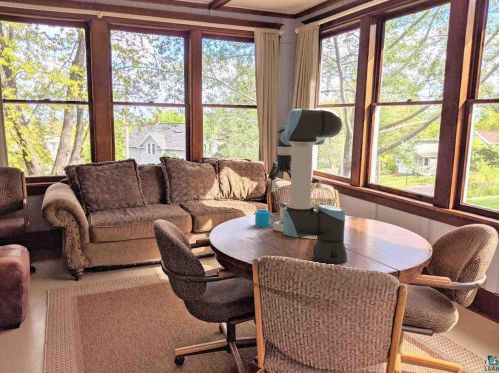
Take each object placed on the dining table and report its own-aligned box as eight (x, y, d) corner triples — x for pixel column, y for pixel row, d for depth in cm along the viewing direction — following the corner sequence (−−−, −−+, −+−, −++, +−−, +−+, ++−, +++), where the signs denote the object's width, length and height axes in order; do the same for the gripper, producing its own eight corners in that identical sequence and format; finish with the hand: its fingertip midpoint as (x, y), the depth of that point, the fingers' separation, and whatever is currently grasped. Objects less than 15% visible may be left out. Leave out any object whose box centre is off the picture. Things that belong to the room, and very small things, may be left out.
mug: (253, 226, 235) (253, 212, 233) (258, 222, 242) (258, 209, 241) (273, 228, 230) (273, 214, 229) (277, 225, 238) (277, 211, 237)
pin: (288, 229, 228) (288, 203, 225) (283, 231, 225) (284, 204, 222) (282, 228, 230) (282, 202, 228) (277, 229, 227) (277, 203, 225)
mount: (291, 229, 228) (291, 222, 227) (283, 232, 223) (284, 225, 222) (281, 227, 232) (281, 220, 232) (273, 229, 227) (273, 222, 227)
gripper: (307, 155, 215) (306, 195, 219) (270, 152, 232) (270, 189, 235) (299, 156, 210) (298, 197, 213) (262, 153, 226) (261, 191, 230)
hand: (283, 193), depth 224 cm, fingers open, 13 cm apart
